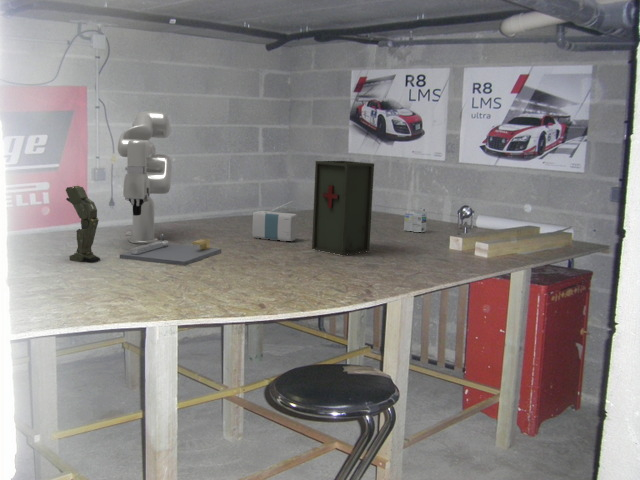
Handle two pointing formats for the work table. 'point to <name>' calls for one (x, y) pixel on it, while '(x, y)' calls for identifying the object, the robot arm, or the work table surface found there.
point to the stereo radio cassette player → (274, 225)
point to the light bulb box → (415, 221)
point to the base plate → (173, 254)
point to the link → (150, 246)
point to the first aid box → (342, 206)
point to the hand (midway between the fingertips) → (136, 215)
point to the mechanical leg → (84, 224)
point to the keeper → (203, 243)
